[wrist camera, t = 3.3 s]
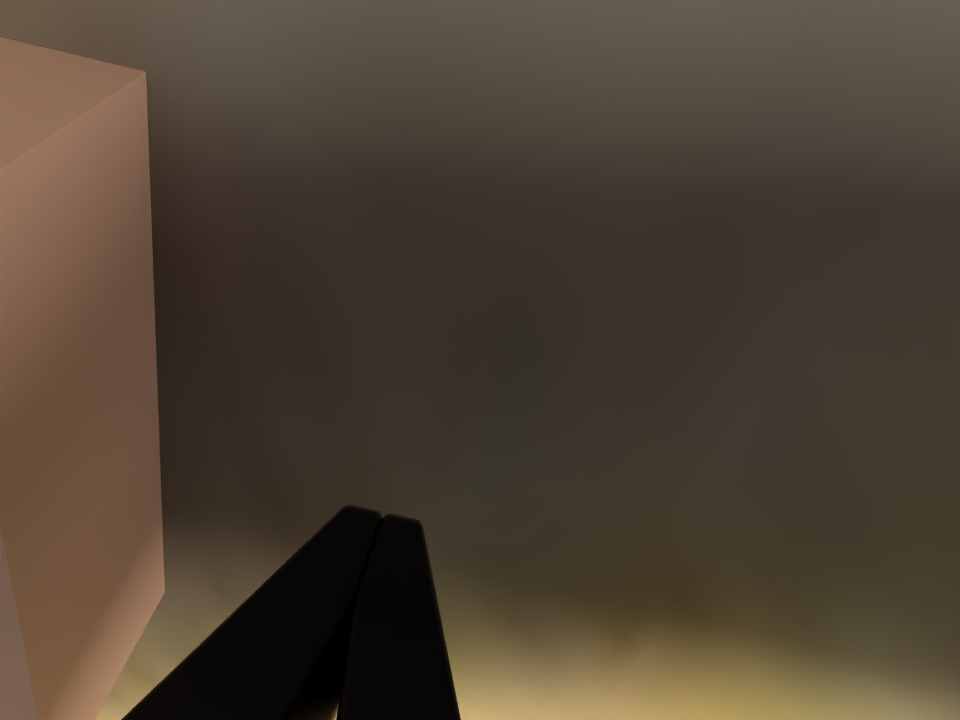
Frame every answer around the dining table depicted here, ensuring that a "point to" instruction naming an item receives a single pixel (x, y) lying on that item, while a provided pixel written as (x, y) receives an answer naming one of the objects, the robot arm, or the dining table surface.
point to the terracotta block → (75, 382)
